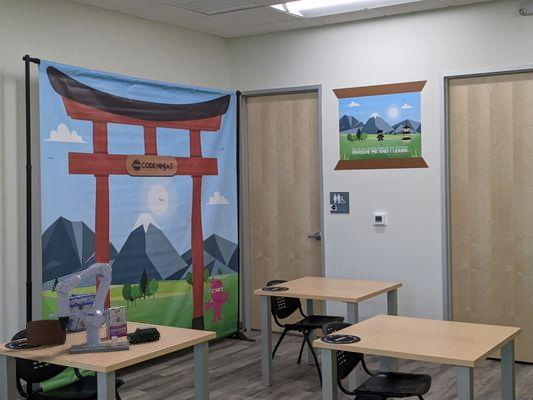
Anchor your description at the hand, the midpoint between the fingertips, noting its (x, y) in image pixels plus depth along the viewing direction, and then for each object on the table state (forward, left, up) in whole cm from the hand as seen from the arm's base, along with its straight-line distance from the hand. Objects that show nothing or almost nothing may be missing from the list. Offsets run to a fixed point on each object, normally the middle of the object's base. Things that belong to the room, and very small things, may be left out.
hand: (64, 331), depth 371 cm
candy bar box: (-28, +26, -10) cm, 40 cm away
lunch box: (-56, +6, -10) cm, 58 cm away
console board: (+3, +18, -10) cm, 21 cm away
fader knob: (+5, +25, -8) cm, 27 cm away
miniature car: (-10, +41, -10) cm, 43 cm away
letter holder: (-21, -11, -10) cm, 26 cm away
